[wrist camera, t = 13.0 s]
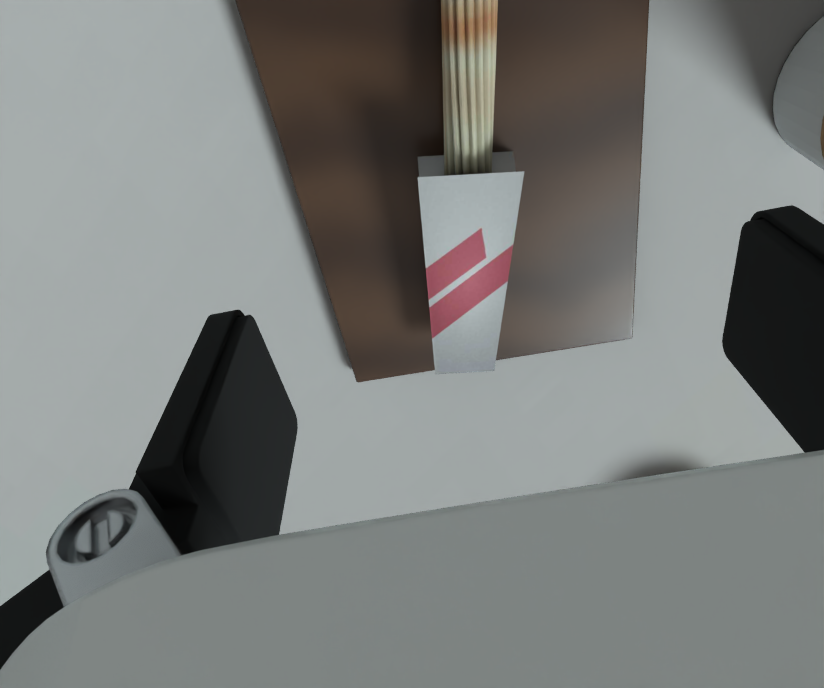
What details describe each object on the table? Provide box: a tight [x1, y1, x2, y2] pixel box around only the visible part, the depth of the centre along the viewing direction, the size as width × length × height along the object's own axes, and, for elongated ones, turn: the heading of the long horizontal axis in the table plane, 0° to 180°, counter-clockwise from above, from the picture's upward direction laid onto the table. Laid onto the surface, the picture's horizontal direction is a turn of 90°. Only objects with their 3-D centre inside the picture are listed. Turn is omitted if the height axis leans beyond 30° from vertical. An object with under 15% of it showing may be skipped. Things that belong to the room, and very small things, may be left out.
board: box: [235, 0, 649, 382], centre depth 22 cm, size 22×14×1 cm, turn 11°
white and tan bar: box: [418, 0, 524, 374], centre depth 21 cm, size 4×3×20 cm
